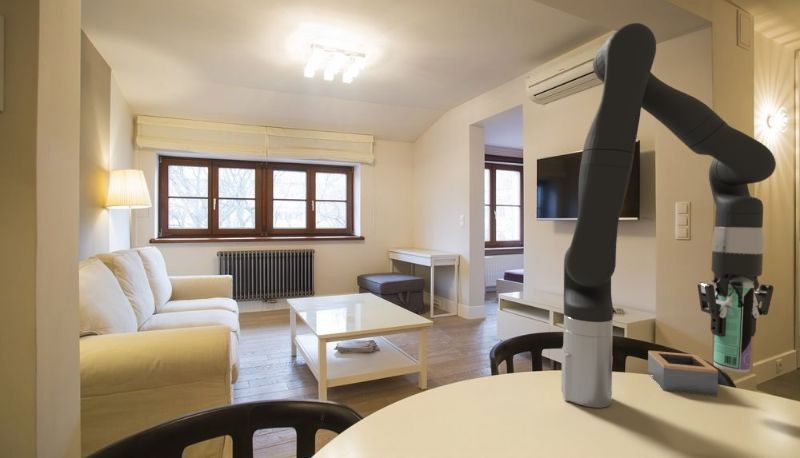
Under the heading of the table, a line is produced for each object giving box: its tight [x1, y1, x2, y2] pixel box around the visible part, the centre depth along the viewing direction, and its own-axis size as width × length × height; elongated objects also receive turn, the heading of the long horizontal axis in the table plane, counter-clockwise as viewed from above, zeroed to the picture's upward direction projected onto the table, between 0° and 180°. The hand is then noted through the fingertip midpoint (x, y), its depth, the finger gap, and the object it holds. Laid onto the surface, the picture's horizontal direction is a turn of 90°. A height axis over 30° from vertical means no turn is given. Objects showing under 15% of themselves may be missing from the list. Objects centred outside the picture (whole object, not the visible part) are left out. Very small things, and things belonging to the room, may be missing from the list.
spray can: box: [713, 276, 754, 374], centre depth 75 cm, size 6×6×20 cm
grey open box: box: [647, 350, 719, 397], centre depth 87 cm, size 10×10×6 cm
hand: (732, 335), depth 75 cm, fingers closed on spray can, 5 cm apart
